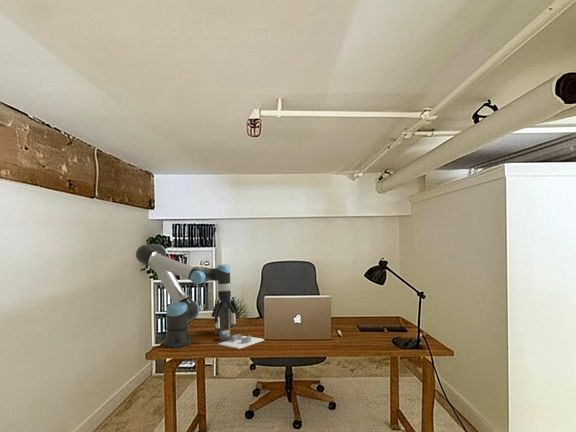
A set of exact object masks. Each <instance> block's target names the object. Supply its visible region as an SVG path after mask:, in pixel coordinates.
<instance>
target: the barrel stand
mask: <svg viewBox="0 0 576 432" xmlns="http://www.w3.org/2000/svg"><path fill="white" fill-rule="evenodd" d="M263 341H265V339H264V338H259V337H254V336H252V335H248V336H247V335H246V336H245V335H242V334H241V333H238V334H233V335H232V336H231V340H229V341H221V342H219V343H218V344H217V346H220V347H225V348H232V349H237V350H240V349H243V348H246V347H249V346H252V345H254V344H258V343H261V342H263Z"/></svg>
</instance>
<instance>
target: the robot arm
mask: <svg viewBox="0 0 576 432" xmlns="http://www.w3.org/2000/svg"><path fill="white" fill-rule="evenodd" d="M135 251H136V252H135V259H136V260H137V261H138V262H139V263H140V264H143V265H145V266H147V267H149V268H150V269H151V270H154V272H155V273H156V275H157V276H158V279H159V280H160V282H161V283H162V285H163V287H164V288H165V290H166V292H167V293H168V295H169V297H170V299H171V301H172V303H170V304H168V305H167V307H166V312H165V313H166V334H165V339H164V341H163V346H164V347H165V346H166V347H165V348H171V347H175V348H183V347H187V346H189V344H190V345H191V344H192V343H191V341H192V339H191V336H190V333H189V330H188V323H189V322H191V321H193V320H195V319H196V318H197V317H198V316H199V313H200V306H199V304H198V303H197V301H195V300H193V299H192V298H191V296H190V295H188V294H186V293H185V291H184V289H183V288H182V286H181V284H180V283H179V281H178V278H177V277H176V276H178V277H181V278H184V279H186V280H189V281H191V283H192V284H195V285H200V284H203V283H207V282H212V281H213V282H215V281H216V282H217V290H218V291H217V294H218V295H217V297H218V299H215V300H214V306H213V310H212V312H211V317H213V318H214V329H215V328H220V322H219V317H218V316H219V314H220V312H221V310H222V308H223V307H224V306H228V307H229V309H230V325H231V324H233V325H236V314H237V313H238V311H239V309H238V306H237V304H236V302H235V296H232V292H231V268H230V265H229V264H217V267H216V268H214V267H213V268H210V267H209V268H206V267H205V268H200V269H199V268H196V267H193V266H191V265H189V264H186V263H183V262H181V261H177V260H175V259H173V258H170V257H167V250H166V248H165V247H164V246H163V245H162V244H157V243H150V244H143V245H141V246H138V248H137V249H136V250H135ZM182 346H183V347H182Z"/></svg>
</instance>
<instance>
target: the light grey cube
mask: <svg viewBox="0 0 576 432" xmlns="http://www.w3.org/2000/svg"><path fill="white" fill-rule="evenodd" d="M229 340H232V336H231V331H230V332H229V330H225V331H221V333H220V335H219V341H220V342H225V341H229Z"/></svg>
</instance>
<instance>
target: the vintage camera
mask: <svg viewBox="0 0 576 432" xmlns="http://www.w3.org/2000/svg"><path fill="white" fill-rule="evenodd" d="M218 317H219V322H220V328H215V327H214V335H215V336H220V333H221V331H225V330H229V332H230V333H231V329H232V328H233V327H234V326H235V324H231V310H230V309H229V307H228V306H224V307H223V308H222V310H221V312H220V314H219V316H218Z"/></svg>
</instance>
